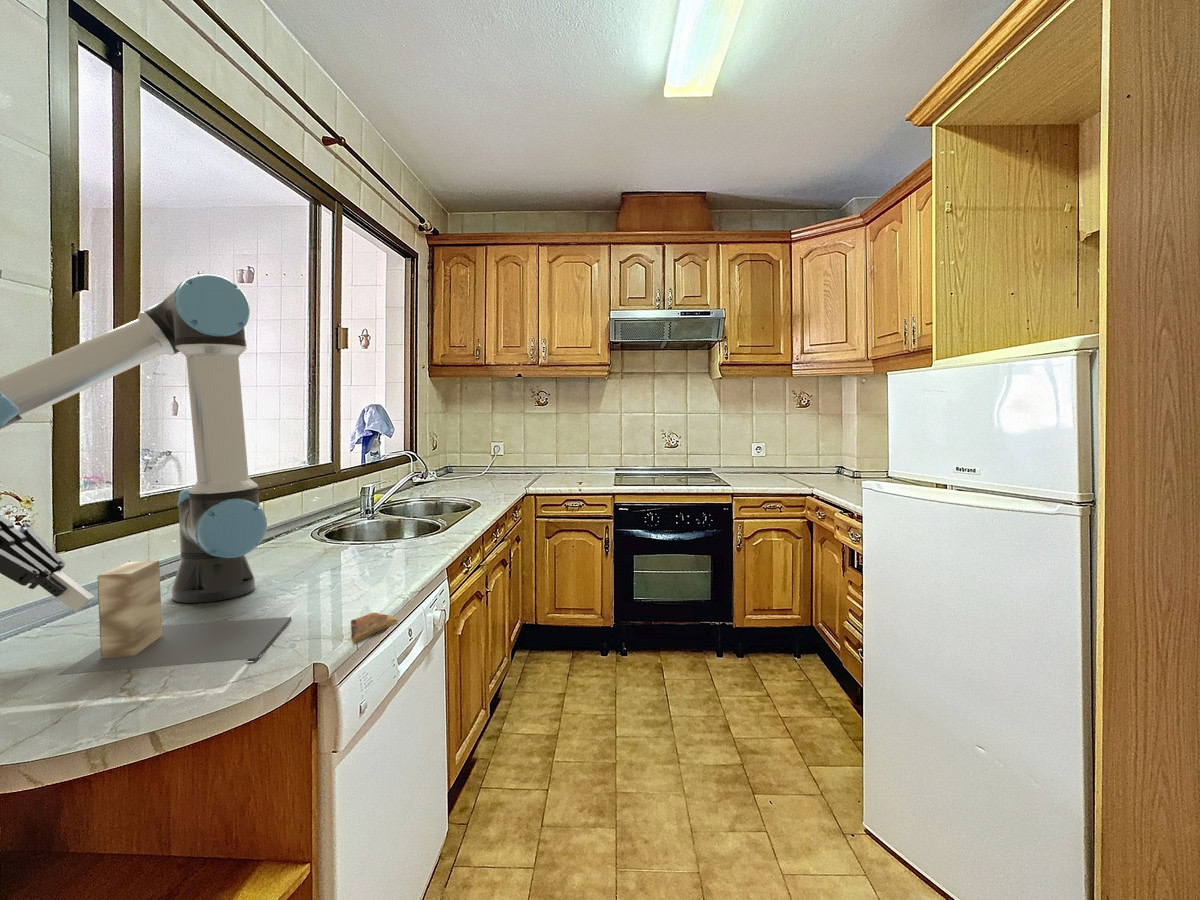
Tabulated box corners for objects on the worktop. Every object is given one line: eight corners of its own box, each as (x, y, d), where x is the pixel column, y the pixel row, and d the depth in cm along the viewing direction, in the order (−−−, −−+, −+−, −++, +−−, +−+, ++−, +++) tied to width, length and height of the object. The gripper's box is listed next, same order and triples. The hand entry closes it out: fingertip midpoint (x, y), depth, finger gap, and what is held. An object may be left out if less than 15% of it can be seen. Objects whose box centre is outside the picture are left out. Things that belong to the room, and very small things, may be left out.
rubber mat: (58, 678, 87) (57, 674, 87) (131, 631, 107) (131, 628, 107) (255, 661, 93) (255, 658, 93) (291, 620, 113) (291, 616, 113)
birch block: (100, 658, 93) (96, 575, 93) (131, 637, 102) (127, 561, 101) (134, 655, 94) (130, 573, 94) (162, 635, 103) (159, 560, 102)
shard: (352, 646, 101) (351, 635, 101) (320, 639, 104) (320, 628, 104) (399, 626, 111) (399, 616, 110) (369, 620, 114) (369, 610, 114)
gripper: (-34, 515, 98) (91, 609, 102) (-108, 529, 85) (38, 636, 89) (3, 482, 98) (125, 576, 103) (-64, 491, 86) (78, 598, 90)
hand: (85, 604), depth 96 cm, fingers closed
